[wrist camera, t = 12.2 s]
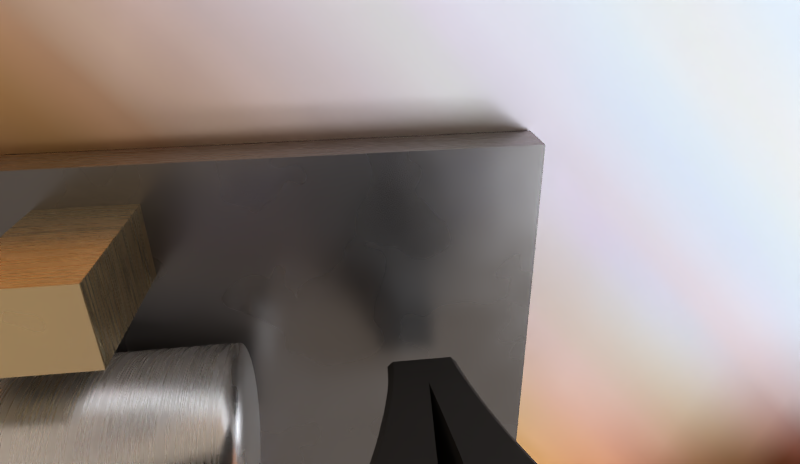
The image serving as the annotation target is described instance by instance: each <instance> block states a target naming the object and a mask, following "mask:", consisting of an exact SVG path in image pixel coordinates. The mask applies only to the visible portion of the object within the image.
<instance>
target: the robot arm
mask: <svg viewBox="0 0 800 464" xmlns="http://www.w3.org/2000/svg"><path fill="white" fill-rule="evenodd" d="M387 368H388V390H387V397H386V404H385V409H384V414H383V418H382V422H381V427H380V431H379V435H378V439H377V442H376V446H375V449H374V452H373V455H372V458H371V461H370V464H537V463H536V462H535V461H534V460H533V459H532V458H531V457H530V456H529V455H528V454H527V453H526V451H525V450H524V449H523V448H522V447H521V446H520V445H519V444H518V443H517V442H516V441H515V439H514V438H513V437H512V436H511V435H510V434H509V433H508V431H507V430H506V429H505V428H504V427H503V425H502V424H501V423H500V422H499V420H498V419H497V418H496V417H495V416H494V414H493V413H492V412H491V411H490V409H489V408H488V407H487V406H486V404H485V403H484V402H483V400H482V399H481V398H480V396H479V395H478V394H477V392H476V391H475V390H474V388H473V387H472V385H471V384H470V383H469V381H468V380H467V378H466V377H465V375H464V374H463V372H462V371H461V369H460V368H459V366H458V364H457V363H456V361H455V360H454V359H452V358H451V357H443V358H431V359H420V360H408V361H396V362H392V363H391V364H390V365H389V366H388V367H387Z"/></svg>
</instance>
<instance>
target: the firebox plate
mask: <svg viewBox="0 0 800 464" xmlns="http://www.w3.org/2000/svg"><path fill="white" fill-rule="evenodd" d="M544 152H545V144H544V143H543V142H542V141H541V140H540V139H538V138H537V137H536V136H535V135H534V134H533V133H532V132H531V131H513V132H492V133H470V134H448V135H427V136H405V137H383V138H362V139H340V140H318V141H297V142H275V143H253V144H232V145H210V146H188V147H167V148H145V149H123V150H102V151H80V152H58V153H37V154H15V155H0V378H11V377H23V376H36V375H49V374H62V373H75V372H88V371H100V370H106V368H107V366H108V364H109V362H110V361H111V359H112V357H113V355H114V353H119V352H131V351H144V350H156V349H168V348H180V347H193V346H205V345H217V344H230V343H243V344H244V345H245V346H246V348H247V350H248V352H249V355H250V358H251V361H252V365H253V369H254V374H255V379H256V386H257V393H258V403H259V416H260V448H261V455H260V464H370V461H371V458H372V455H373V452H374V449H375V446H376V442H377V439H378V435H379V431H380V427H381V422H382V418H383V414H384V409H385V404H386V397H387V390H388V368H387V367H388V366H389V365H390V364H391V363H392V362H396V361H408V360H420V359H431V358H443V357H451V358H452V359H454V360H455V361H456V363H457V364H458V366H459V368H460V369H461V371H462V372H463V374H464V375H465V377H466V378H467V380H468V381H469V383H470V384H471V385H472V387H473V388H474V390H475V391H476V392H477V394H478V395H479V396H480V398H481V399H482V400H483V402H484V403H485V404H486V406H487V407H488V408H489V409H490V411H491V412H492V413H493V414H494V416H495V417H496V418H497V419H498V420H499V422H500V423H501V424H502V425H503V427H504V428H505V429H506V430H507V431H508V433H509V434H510V435H511V436H512V437H513V438H514V439H515V441H516V436H517V426H518V416H519V406H520V395H521V385H522V375H523V365H524V355H525V345H526V335H527V325H528V314H529V304H530V294H531V284H532V274H533V264H534V254H535V244H536V233H537V223H538V213H539V203H540V193H541V183H542V173H543V162H544Z"/></svg>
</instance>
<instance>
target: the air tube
mask: <svg viewBox="0 0 800 464" xmlns="http://www.w3.org/2000/svg"><path fill="white" fill-rule="evenodd" d="M260 455H261V448H260V416H259V403H258V393H257V386H256V379H255V374H254V369H253V365H252V361H251V358H250V355H249V352H248V350H247V348H246V346H245V345H244V344H243V343H230V344H217V345H205V346H193V347H180V348H168V349H156V350H144V351H131V352H119V353H114V355H113V357H112V359H111V361H110V362H109V364H108V366H107V368H106V370H100V371H88V372H75V373H62V374H49V375H36V376H23V377H11V378H0V464H260Z"/></svg>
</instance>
